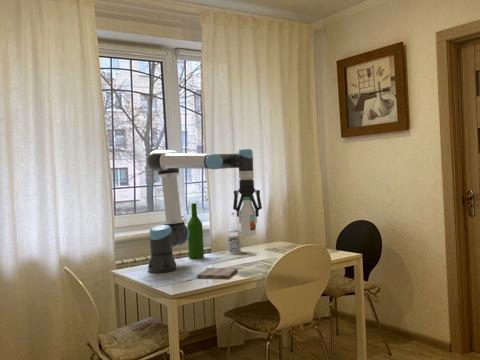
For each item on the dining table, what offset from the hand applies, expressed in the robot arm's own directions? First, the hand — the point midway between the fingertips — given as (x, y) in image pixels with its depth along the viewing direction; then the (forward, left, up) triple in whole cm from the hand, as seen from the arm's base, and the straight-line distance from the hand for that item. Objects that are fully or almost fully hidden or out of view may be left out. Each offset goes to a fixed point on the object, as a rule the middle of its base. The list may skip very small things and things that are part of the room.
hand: (248, 223), depth 252 cm
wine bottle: (-41, +29, -25) cm, 56 cm away
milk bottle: (0, 0, -6) cm, 6 cm away
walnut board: (-14, -12, -24) cm, 30 cm away
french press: (-21, +46, -25) cm, 56 cm away
